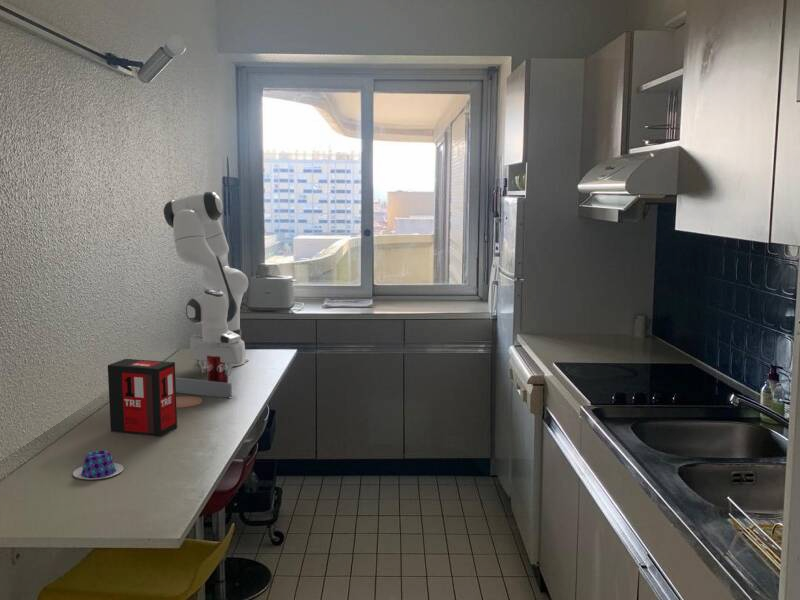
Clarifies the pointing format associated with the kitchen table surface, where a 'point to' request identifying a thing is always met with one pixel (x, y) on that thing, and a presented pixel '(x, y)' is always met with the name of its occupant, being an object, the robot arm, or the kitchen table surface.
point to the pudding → (98, 466)
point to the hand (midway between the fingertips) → (216, 374)
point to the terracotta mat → (187, 401)
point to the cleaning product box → (142, 397)
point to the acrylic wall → (203, 387)
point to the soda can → (216, 369)
